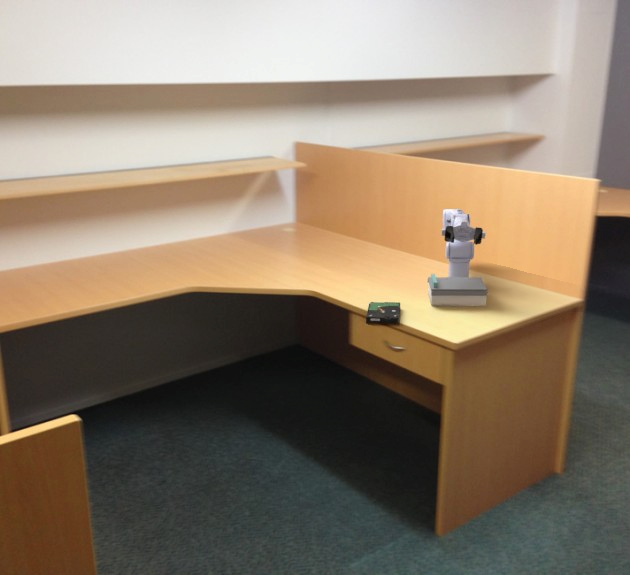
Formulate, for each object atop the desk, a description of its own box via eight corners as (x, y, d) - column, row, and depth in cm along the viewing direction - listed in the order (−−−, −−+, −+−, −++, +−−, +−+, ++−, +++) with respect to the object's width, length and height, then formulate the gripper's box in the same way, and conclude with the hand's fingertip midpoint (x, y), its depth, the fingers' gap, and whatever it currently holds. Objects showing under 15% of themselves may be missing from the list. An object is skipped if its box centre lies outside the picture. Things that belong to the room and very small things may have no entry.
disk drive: (399, 326, 214) (400, 309, 228) (399, 317, 214) (400, 301, 227) (365, 325, 216) (368, 308, 230) (365, 316, 215) (368, 300, 229)
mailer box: (428, 293, 242) (428, 280, 240) (479, 293, 241) (480, 280, 239) (431, 305, 230) (431, 291, 228) (485, 306, 229) (486, 291, 227)
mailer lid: (427, 282, 242) (427, 271, 241) (480, 282, 240) (481, 271, 239) (431, 295, 228) (431, 284, 227) (487, 295, 227) (488, 284, 225)
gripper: (442, 216, 239) (443, 227, 226) (484, 219, 237) (489, 230, 225) (440, 236, 242) (441, 247, 229) (482, 239, 240) (486, 251, 227)
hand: (464, 240), depth 227 cm, fingers open, 7 cm apart
